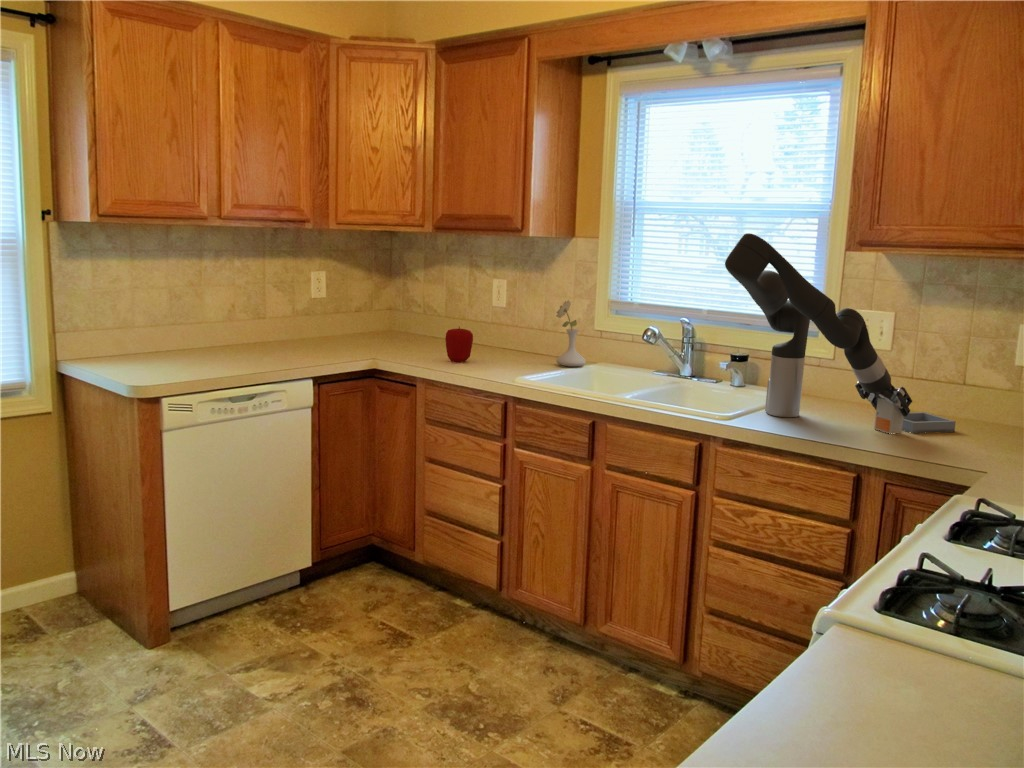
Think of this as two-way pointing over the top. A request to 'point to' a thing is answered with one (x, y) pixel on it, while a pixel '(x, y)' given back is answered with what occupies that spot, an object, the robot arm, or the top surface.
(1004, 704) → the top surface
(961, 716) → the top surface
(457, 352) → the apple
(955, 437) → the top surface
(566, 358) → the flower in vase
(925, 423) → the tray
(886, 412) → the skincare box
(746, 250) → the robot arm
